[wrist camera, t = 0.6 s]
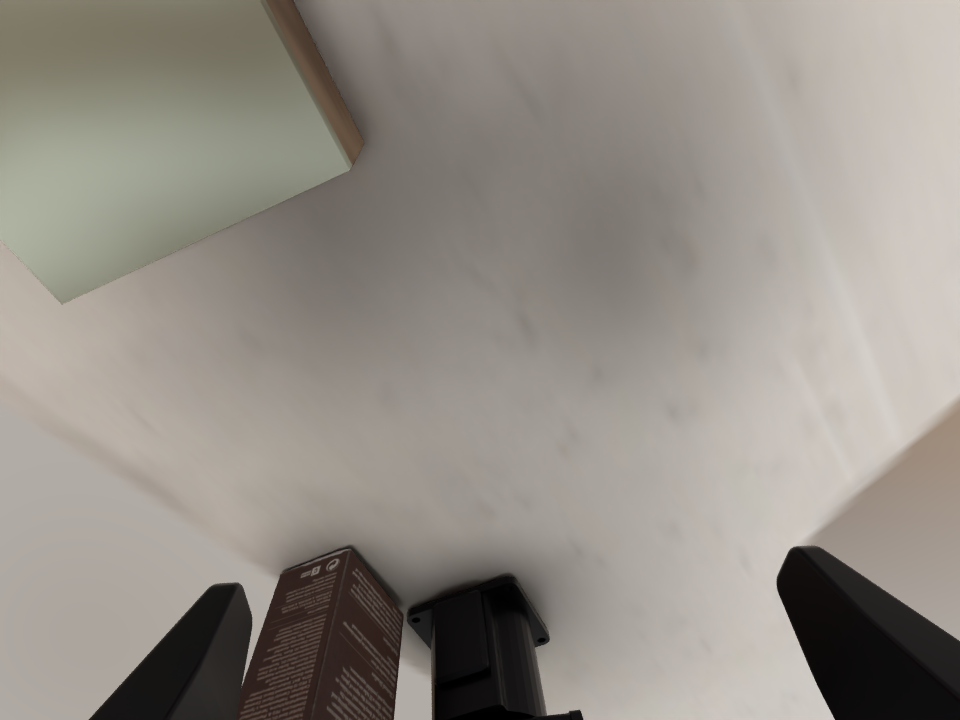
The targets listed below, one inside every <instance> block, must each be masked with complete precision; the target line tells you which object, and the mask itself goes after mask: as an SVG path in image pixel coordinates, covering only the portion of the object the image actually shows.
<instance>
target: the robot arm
mask: <svg viewBox="0 0 960 720" xmlns="http://www.w3.org/2000/svg"><path fill="white" fill-rule="evenodd" d="M777 589H778V593H779V595H780V598H781V600H782V603H783V605H784V607H785V610H786V612H787V615H788V617H789V619H790V622H791V624H792V627H793V629H794V631H795V634H796V636H797V639H798V641H799V643H800V646H801V648H802V651H803V653H804V655H805V658H806V660H807V663H808V665H809V668H810V670H811V672H812V674H813V677H814V679H815V681H816V683H817V685H818V687H819V689H820V691H821V693H822V695H823V697H824V699H825V701H826V703H827V705H828V707H829V709H830V711H831V713H832V715H833V717H834V718H835V720H960V641H959V640H957V639H956V638H954V637H953V636H951V635H950V634H949V633H947V632H945V631H944V630H943V629H941V628H939V627H938V626H937V625H935V624H934V623H932V622H931V621H929V620H928V619H926V618H925V617H923V616H922V615H920V614H919V613H917V612H916V611H914V610H913V609H911V608H910V607H908V606H907V605H905V604H904V603H902V602H901V601H900V600H898V599H897V598H895V597H894V596H892V595H891V594H889V593H888V592H886V591H885V590H883V589H882V588H880V587H879V586H877V585H876V584H874V583H873V582H871V581H870V580H868V579H867V578H865V577H864V576H862V575H861V574H859V573H858V572H856V571H855V570H853V569H852V568H851V567H849V566H847V565H846V564H845V563H843V562H842V561H840V560H839V559H837V558H836V557H834V556H833V555H831V554H830V553H828V552H827V551H825V550H824V549H822V548H820V547H817V546H812V545H811V546H796V547H793V548H791V549H790V550H789V552H788V554H787V556H786V558H785V560H784V563H783V565H782V567H781V569H780V571H779V574H778V576H777ZM407 622H408V624H409V625H410V626H411V627H412V628H413V629H414V630H415V632H416V633H417V634H418V635H419V636H420V637H421V639H422V640H423V641H424V642H425V643H426V644H427V646H428V647H429V648H430V649H431V674H432V720H583V717H582V714H581V711H580V710H574V711H569V713H567V714H558V715H548V716H547V713H546V707H545V701H544V696H543V690H542V685H541V679H540V674H539V668H538V663H537V657H536V652H535V647H538V646H541V645H544V644H546V643H548V642H549V640H550V638H549V633H548V630H547V629H546V627H545V625H544V624H543V622H542V620H541V619H540V617H539V616H538V614H537V612H536V611H535V609H534V607H533V606H532V604H531V603H530V601H529V599H528V598H527V596H526V594H525V593H524V591H523V590H522V588H521V586H520V585H519V583H518V581H517V580H516V579H515V578H514V577H510V576H508V577H503V578H500V579H498V580H495V581H492V582H489V583H486V584H483V585H480V586H477V587H474V588H471V589H468V590H465V591H462V592H459V593H457V594H454V595H451V596H448V597H445V598H442V599H439V600H436V601H433V602H430V603H427V604H424V605H421V606H419V607H416V608H413V609H411V610H409V611H408V613H407ZM251 631H252V614H251V611H250V608H249V605H248V601H247V598H246V595H245V592H244V589H243V587H242V585H241V584H239V583H220V584H215V585H212V586H211V587H209V588H208V589H207V590H206V592H205V593H204V594H203V595H202V596H201V597H200V598H199V599H198V600H197V601H196V602H195V604H194V605H193V606H192V607H191V608H190V609H189V610H188V611H187V612H186V613H185V615H184V616H183V617H182V618H181V619H180V620H179V621H178V622H177V623H176V624H175V626H174V627H173V628H172V629H171V630H170V631H169V632H168V633H167V634H166V636H165V637H164V638H163V639H162V640H161V641H160V642H159V643H158V644H157V645H156V646H155V647H154V649H153V650H152V651H151V652H150V653H149V654H148V655H147V656H146V657H145V658H144V660H143V661H142V662H141V663H140V664H139V665H138V666H137V667H136V668H135V670H134V671H133V672H132V673H131V674H130V675H129V676H128V677H127V678H126V679H125V681H124V682H123V683H122V684H121V685H120V686H119V687H118V688H117V690H115V691H114V693H113V694H112V695H111V696H110V697H109V698H108V699H107V700H106V701H105V702H104V704H103V705H102V706H101V707H100V708H99V709H98V710H97V711H96V712H95V714H94V715H93V716H92V717H91V718H90V719H89V720H236V714H237V709H238V703H239V698H240V692H241V687H242V681H243V676H244V670H245V664H246V659H247V653H248V648H249V642H250V636H251Z"/></svg>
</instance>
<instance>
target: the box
mask: <svg viewBox="0 0 960 720" xmlns="http://www.w3.org/2000/svg"><path fill="white" fill-rule="evenodd" d="M403 617H404V616H403V614H402V612H401V611H400V610H399V609H398V608H397V606H396V605H395V604H394V603H393V601H392V600H391V599H390V598H389V596H388V595H387V594H386V593H385V591H384V590H383V589H382V588H381V586H380V585H379V584H378V583H377V581H376V580H375V579H374V578H373V576H372V575H371V574H370V573H369V571H368V570H367V569H366V568H365V566H364V565H363V564H362V563H361V561H360V560H359V559H358V558H357V556H356V555H355V554H354V553H353V551H352V550H351V549H345V550H338V551H335V552H333V553H332V554H328V555H326V556H323V557H319V558H317V559H315V560H313V561H311V562H308V563H305V564H303V565H301V566H299V567H296V568H293V569H291V570H288V571H286V572H285V573H282V574H281V575H280V578H279V581H278V584H277V586H276V589H275V592H274V595H273V599H272V601H271V604H270V607H269V610H268V612H267V616H266V618H265V621H264V624H263V628H262V630H261V633H260V636H259V638H258V642H257V644H256V647H255V650H254V653H253V656H252V659H251V662H250V665H249V668H248V671H247V673H246V676H245V679H244V683H243V685H242V688H241V692H240V698H239V703H238V709H237V714H236V720H394V711H395V699H396V689H397V679H398V668H399V658H400V647H401V637H402V627H403Z"/></svg>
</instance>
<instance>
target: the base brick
mask: <svg viewBox="0 0 960 720" xmlns="http://www.w3.org/2000/svg"><path fill="white" fill-rule="evenodd" d="M363 145H364V141H363V139H362V137H361V135H360V133H359V131H358V129H357V127H356V125H355V123H354V121H353V119H352V118H351V116H350V114H349V112H348V110H347V108H346V106H345V104H344V102H343V100H342V98H341V96H340V94H339V92H338V90H337V88H336V86H335V84H334V82H333V80H332V78H331V76H330V74H329V72H328V70H327V68H326V66H325V64H324V62H323V60H322V58H321V56H320V54H319V52H318V50H317V48H316V46H315V44H314V42H313V40H312V38H311V36H310V34H309V32H308V30H307V28H306V26H305V24H304V22H303V20H302V18H301V16H300V14H299V12H298V10H297V8H296V6H295V4H294V2H293V0H0V240H1V241H2V242H3V243H4V244H5V245H6V246H7V247H8V248H9V249H10V250H11V251H12V252H13V254H14V255H15V256H16V257H17V258H18V259H19V260H20V261H21V262H22V263H23V264H24V265H25V266H26V267H27V268H28V269H29V270H30V272H31V273H32V274H33V275H34V276H35V277H36V278H37V279H38V280H39V281H40V282H41V283H42V284H43V285H44V286H45V287H46V288H47V289H48V291H49V292H50V293H51V294H52V295H53V296H54V297H55V298H56V299H57V300H58V301H59V302H60V303H61V304H64V303H66V302H68V301H71V300H73V299H75V298H77V297H79V296H81V295H83V294H86V293H88V292H90V291H92V290H94V289H96V288H98V287H101V286H103V285H105V284H107V283H109V282H111V281H113V280H116V279H118V278H120V277H122V276H124V275H126V274H128V273H131V272H133V271H135V270H137V269H139V268H141V267H144V266H146V265H148V264H150V263H152V262H154V261H156V260H159V259H161V258H163V257H165V256H167V255H169V254H171V253H174V252H176V251H178V250H180V249H182V248H184V247H186V246H189V245H191V244H193V243H195V242H197V241H199V240H201V239H204V238H206V237H208V236H210V235H212V234H214V233H217V232H219V231H221V230H223V229H225V228H227V227H229V226H232V225H234V224H236V223H238V222H240V221H242V220H244V219H247V218H249V217H251V216H253V215H255V214H257V213H259V212H262V211H264V210H266V209H268V208H270V207H272V206H274V205H277V204H279V203H281V202H283V201H285V200H287V199H289V198H292V197H294V196H296V195H298V194H300V193H302V192H305V191H307V190H309V189H311V188H313V187H315V186H317V185H320V184H322V183H324V182H326V181H328V180H330V179H332V178H335V177H337V176H339V175H341V174H343V173H345V172H347V171H350V169H351V167H352V165H353V164H354V162H355V160H356V158H357V156H358V154H359V153H360V151H361V149H362V147H363Z"/></svg>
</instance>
